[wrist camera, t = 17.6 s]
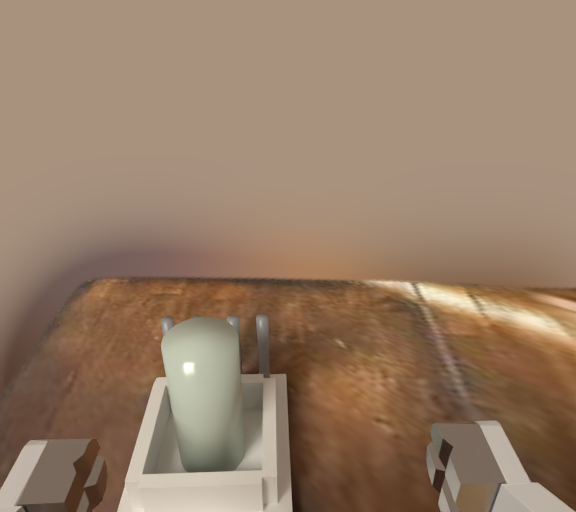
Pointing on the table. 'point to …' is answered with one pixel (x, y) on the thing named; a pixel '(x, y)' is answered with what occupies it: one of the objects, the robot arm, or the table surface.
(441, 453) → the robot arm
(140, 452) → the dish rack
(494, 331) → the table surface
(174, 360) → the pale green canister
